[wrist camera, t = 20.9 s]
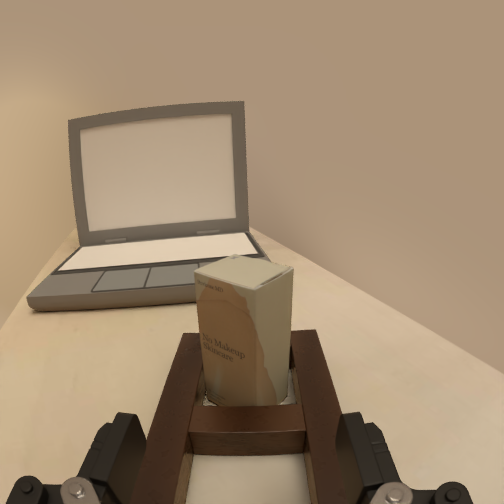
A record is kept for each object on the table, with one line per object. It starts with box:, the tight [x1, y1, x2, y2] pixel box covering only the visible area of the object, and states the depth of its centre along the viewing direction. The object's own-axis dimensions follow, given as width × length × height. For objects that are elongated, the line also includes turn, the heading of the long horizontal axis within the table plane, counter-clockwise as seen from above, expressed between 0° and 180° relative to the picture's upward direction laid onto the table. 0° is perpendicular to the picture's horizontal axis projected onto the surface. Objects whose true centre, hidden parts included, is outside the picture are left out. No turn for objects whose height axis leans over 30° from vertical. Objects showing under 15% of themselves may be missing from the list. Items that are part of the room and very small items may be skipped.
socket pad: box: [130, 329, 348, 504], centre depth 19 cm, size 12×22×2 cm, turn 0°
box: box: [194, 254, 294, 406], centre depth 22 cm, size 5×4×11 cm
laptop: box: [26, 101, 271, 311], centre depth 48 cm, size 35×26×28 cm
